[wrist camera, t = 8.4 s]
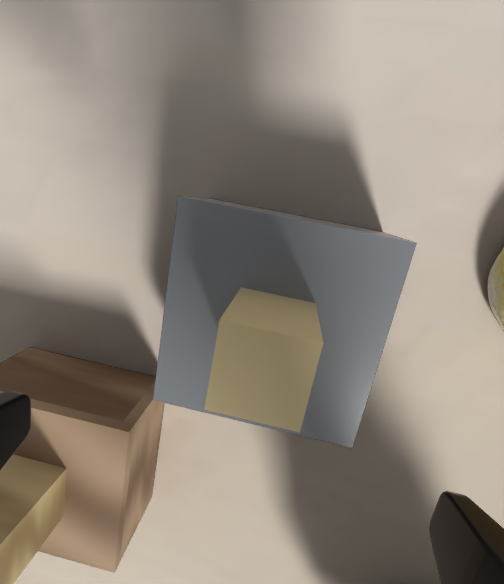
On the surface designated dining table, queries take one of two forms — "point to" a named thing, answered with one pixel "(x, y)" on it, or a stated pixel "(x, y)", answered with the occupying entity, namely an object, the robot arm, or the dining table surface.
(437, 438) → the dining table surface
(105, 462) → the hood walnut
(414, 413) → the dining table surface
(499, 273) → the bread roll
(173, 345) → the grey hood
